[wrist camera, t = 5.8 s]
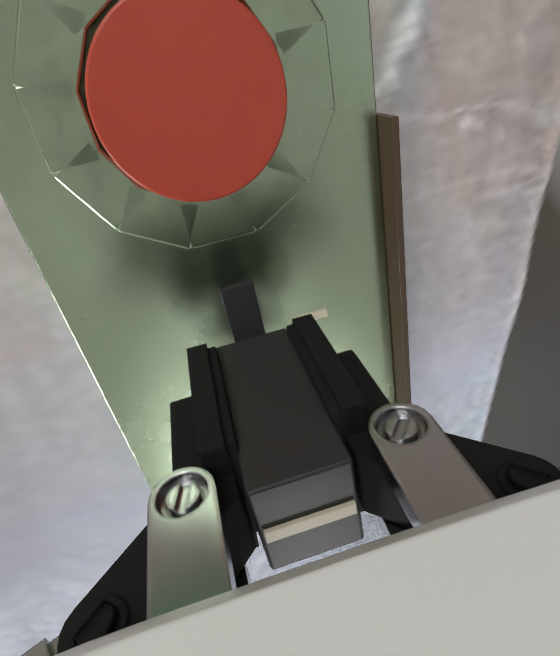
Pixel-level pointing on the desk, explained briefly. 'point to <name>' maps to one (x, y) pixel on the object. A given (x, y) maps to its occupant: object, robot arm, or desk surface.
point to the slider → (288, 451)
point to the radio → (197, 212)
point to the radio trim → (244, 299)
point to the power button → (186, 95)
